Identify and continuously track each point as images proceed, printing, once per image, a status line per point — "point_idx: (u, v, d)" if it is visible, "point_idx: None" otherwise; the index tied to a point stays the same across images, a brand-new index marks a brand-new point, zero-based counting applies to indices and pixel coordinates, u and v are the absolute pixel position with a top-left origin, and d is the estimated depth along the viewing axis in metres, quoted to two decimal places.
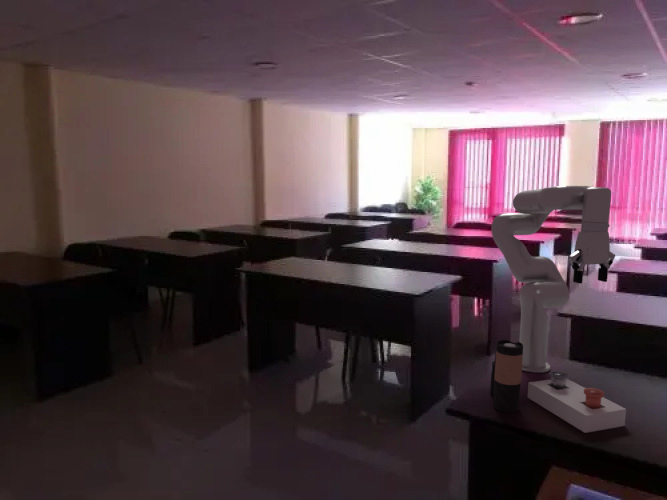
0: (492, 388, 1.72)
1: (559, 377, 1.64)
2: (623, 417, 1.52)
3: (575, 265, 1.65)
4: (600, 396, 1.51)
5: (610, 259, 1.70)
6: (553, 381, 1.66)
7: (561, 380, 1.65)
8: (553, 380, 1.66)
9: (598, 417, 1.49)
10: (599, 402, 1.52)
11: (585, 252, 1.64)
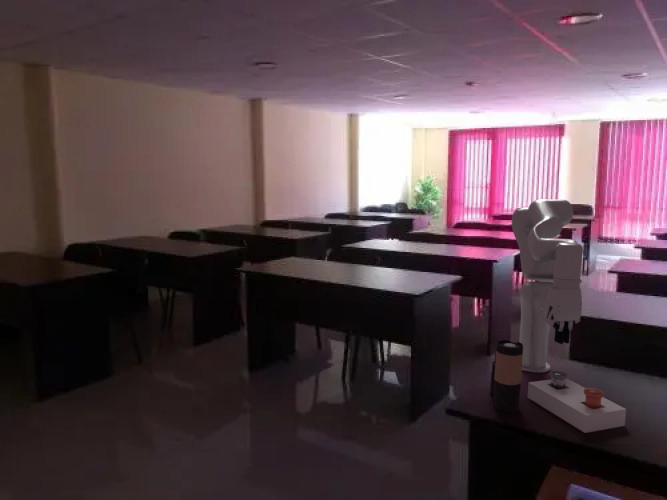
0: (492, 388, 1.72)
1: (559, 377, 1.64)
2: (623, 417, 1.52)
3: (556, 326, 1.62)
4: (600, 396, 1.51)
5: (574, 320, 1.65)
6: (553, 381, 1.66)
7: (561, 380, 1.65)
8: (553, 380, 1.66)
9: (598, 417, 1.49)
10: (599, 402, 1.52)
11: (556, 309, 1.60)
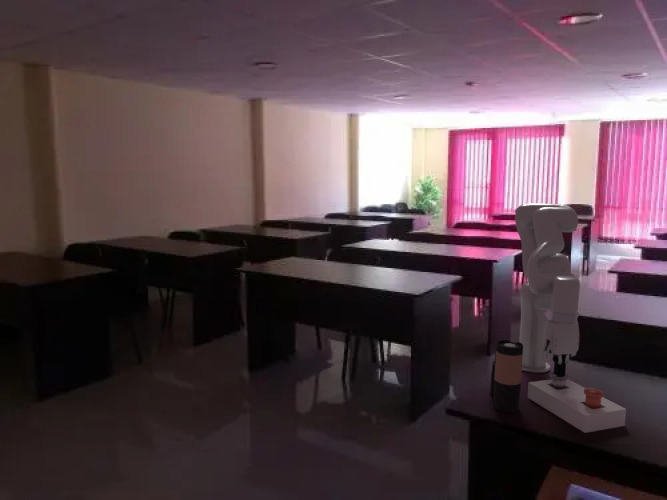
0: (492, 388, 1.72)
1: (559, 378, 1.64)
2: (623, 417, 1.52)
3: (555, 358, 1.64)
4: (600, 396, 1.51)
5: None
6: (553, 382, 1.66)
7: (561, 381, 1.65)
8: (553, 381, 1.66)
9: (598, 417, 1.49)
10: (599, 402, 1.52)
11: (554, 343, 1.62)
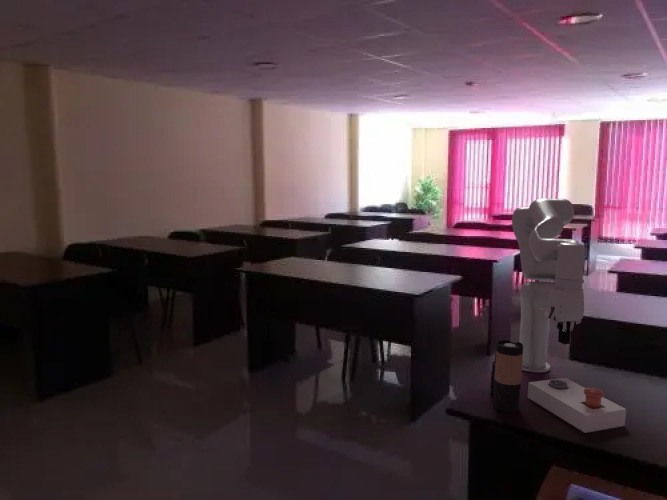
0: (492, 388, 1.72)
1: (558, 387, 1.65)
2: (623, 417, 1.52)
3: (560, 326, 1.62)
4: (600, 396, 1.51)
5: (575, 321, 1.64)
6: None
7: None
8: None
9: (598, 417, 1.49)
10: (599, 402, 1.52)
11: (558, 310, 1.59)
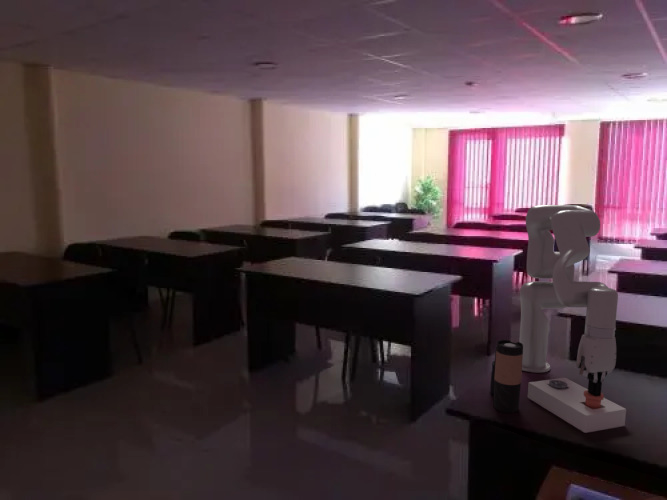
0: (492, 388, 1.72)
1: (558, 387, 1.65)
2: (623, 417, 1.52)
3: (590, 376, 1.51)
4: (600, 398, 1.51)
5: (606, 370, 1.53)
6: None
7: None
8: None
9: (598, 417, 1.49)
10: (599, 404, 1.52)
11: (589, 360, 1.49)
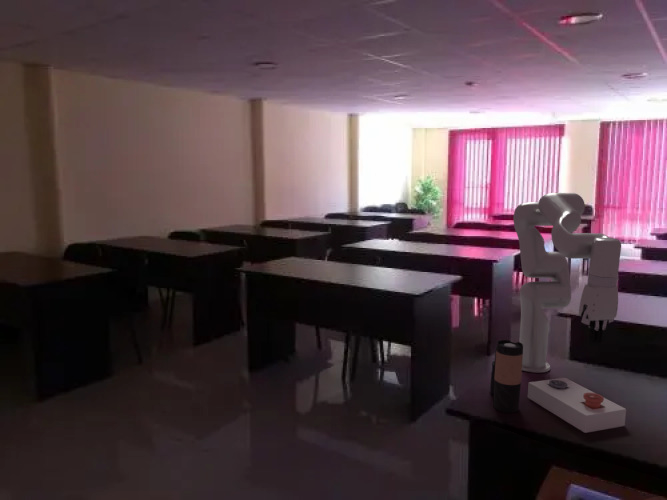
0: (492, 388, 1.72)
1: (558, 387, 1.65)
2: (623, 417, 1.52)
3: (592, 324, 1.55)
4: (600, 401, 1.51)
5: (608, 319, 1.57)
6: None
7: None
8: None
9: (598, 417, 1.49)
10: (599, 407, 1.52)
11: (591, 308, 1.53)
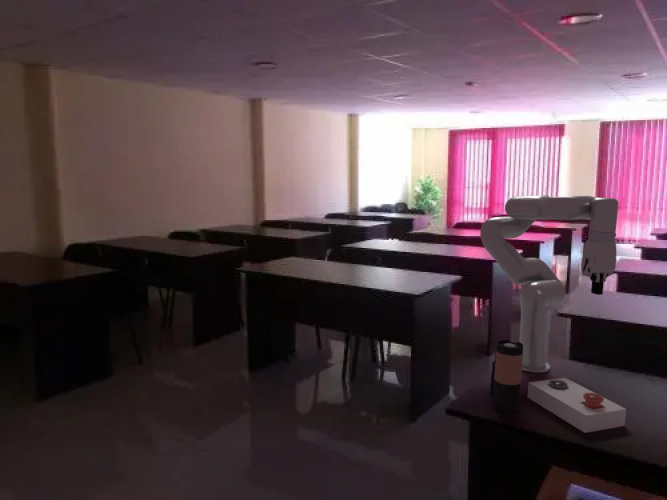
0: (492, 388, 1.72)
1: (558, 387, 1.65)
2: (623, 417, 1.52)
3: (593, 277, 1.71)
4: (600, 401, 1.51)
5: (607, 273, 1.73)
6: None
7: None
8: None
9: (598, 417, 1.49)
10: (599, 407, 1.52)
11: (592, 261, 1.68)
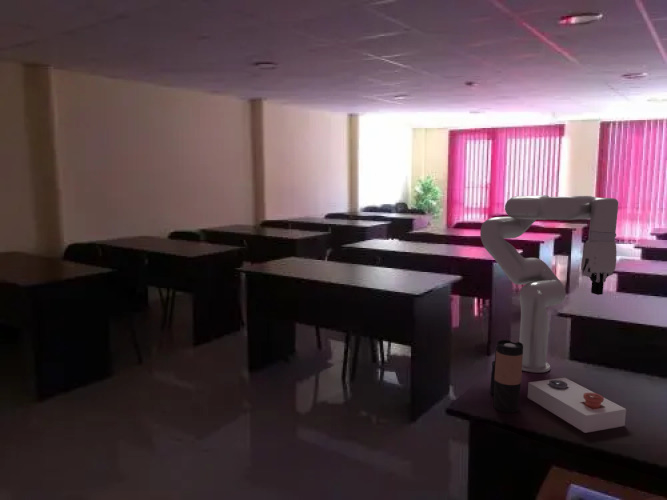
0: (492, 388, 1.72)
1: (558, 387, 1.65)
2: (623, 417, 1.52)
3: (593, 277, 1.71)
4: (600, 401, 1.51)
5: (607, 273, 1.73)
6: None
7: None
8: None
9: (598, 417, 1.49)
10: (599, 407, 1.52)
11: (592, 261, 1.68)
